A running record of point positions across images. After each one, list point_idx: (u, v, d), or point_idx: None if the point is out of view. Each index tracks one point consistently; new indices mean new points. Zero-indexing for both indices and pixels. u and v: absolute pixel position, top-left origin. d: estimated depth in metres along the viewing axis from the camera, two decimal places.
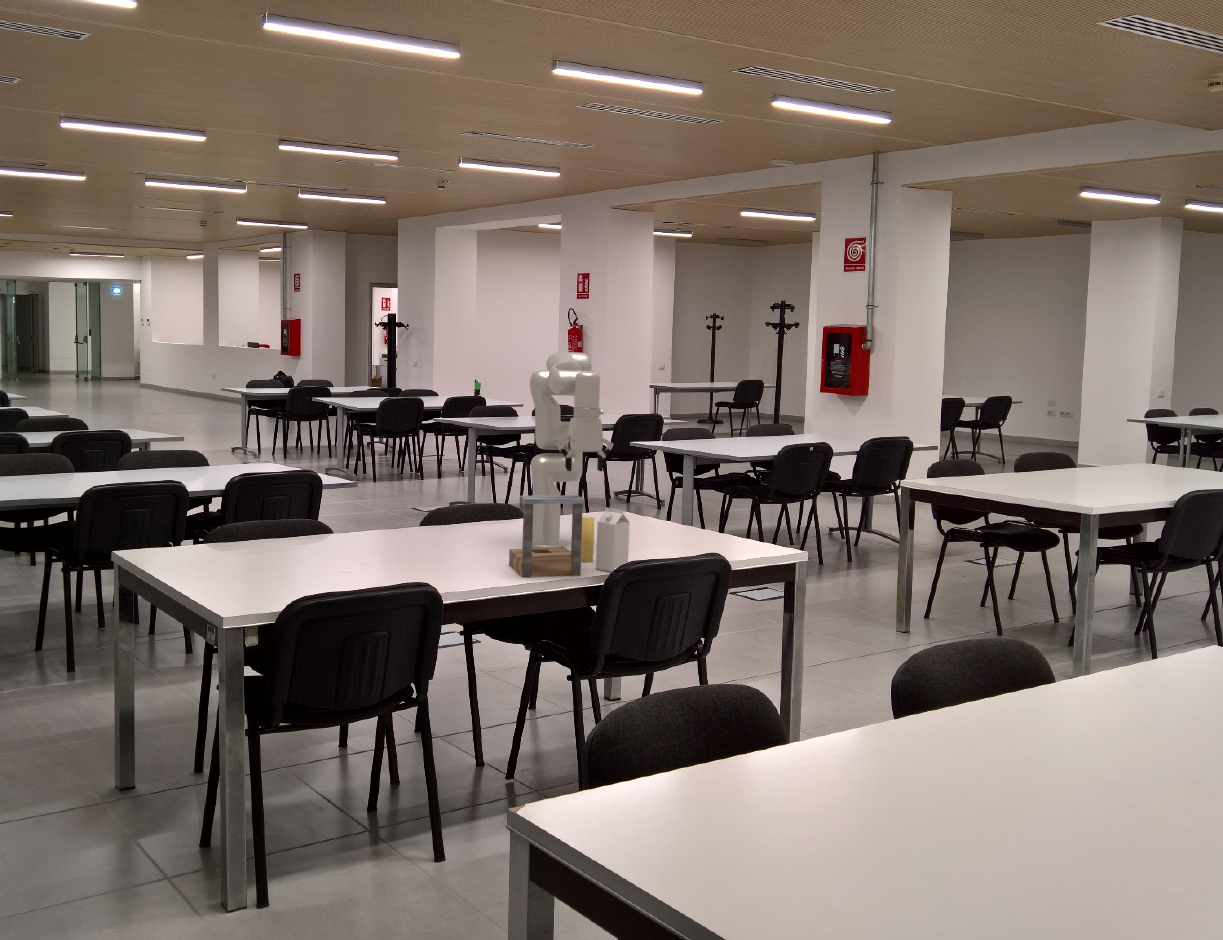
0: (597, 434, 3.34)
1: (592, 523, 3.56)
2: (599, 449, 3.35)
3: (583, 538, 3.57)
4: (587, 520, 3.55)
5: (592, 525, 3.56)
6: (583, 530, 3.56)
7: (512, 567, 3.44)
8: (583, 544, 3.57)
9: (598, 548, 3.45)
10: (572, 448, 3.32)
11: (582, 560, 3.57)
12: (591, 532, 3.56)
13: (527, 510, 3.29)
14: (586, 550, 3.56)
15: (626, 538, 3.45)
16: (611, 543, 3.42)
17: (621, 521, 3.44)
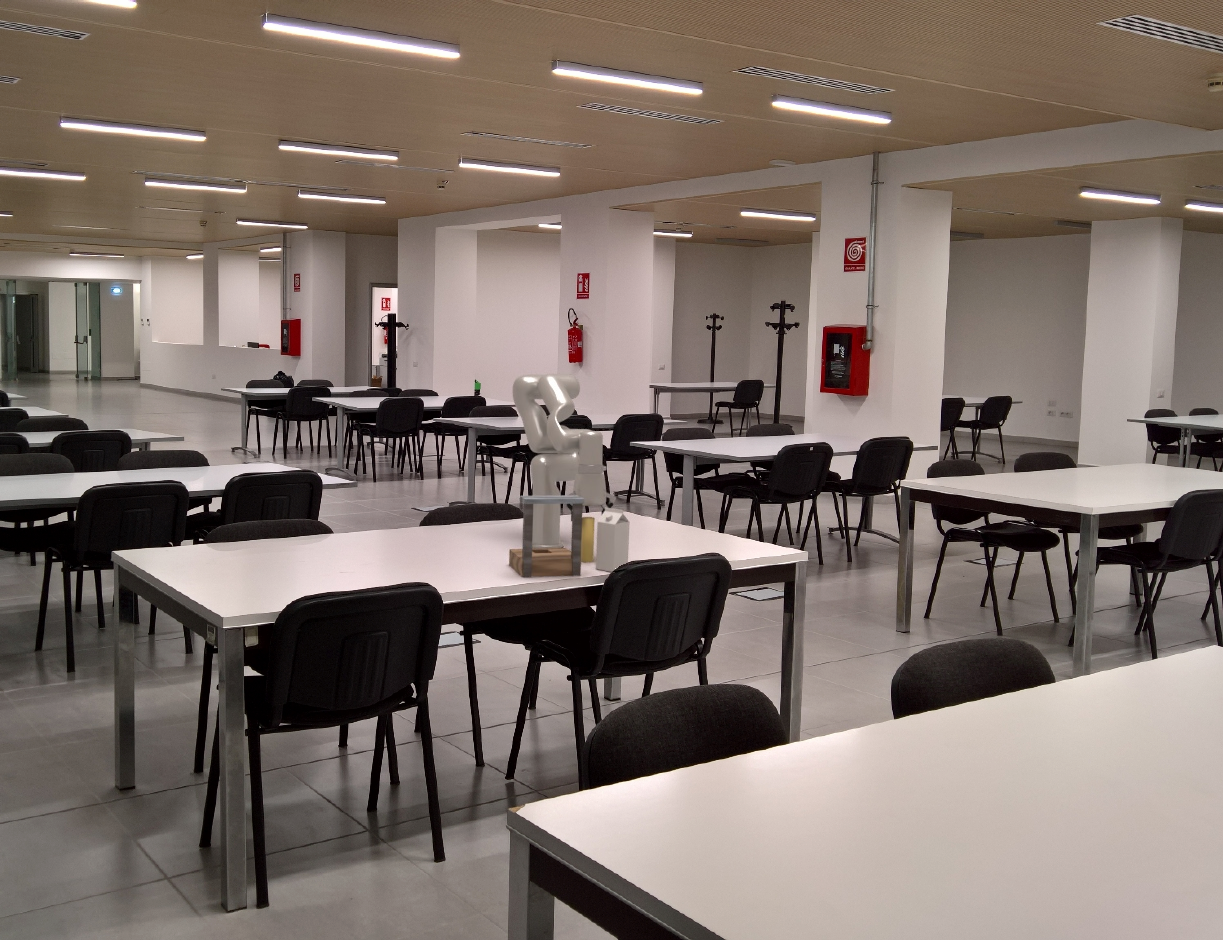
0: (601, 489, 3.55)
1: (592, 523, 3.56)
2: (603, 503, 3.56)
3: (583, 538, 3.57)
4: (587, 520, 3.55)
5: (592, 525, 3.56)
6: (583, 530, 3.56)
7: (512, 567, 3.44)
8: (583, 544, 3.57)
9: (598, 548, 3.45)
10: None
11: (582, 560, 3.57)
12: (591, 532, 3.56)
13: (527, 510, 3.29)
14: (586, 550, 3.56)
15: (626, 538, 3.45)
16: (611, 543, 3.42)
17: (621, 521, 3.44)
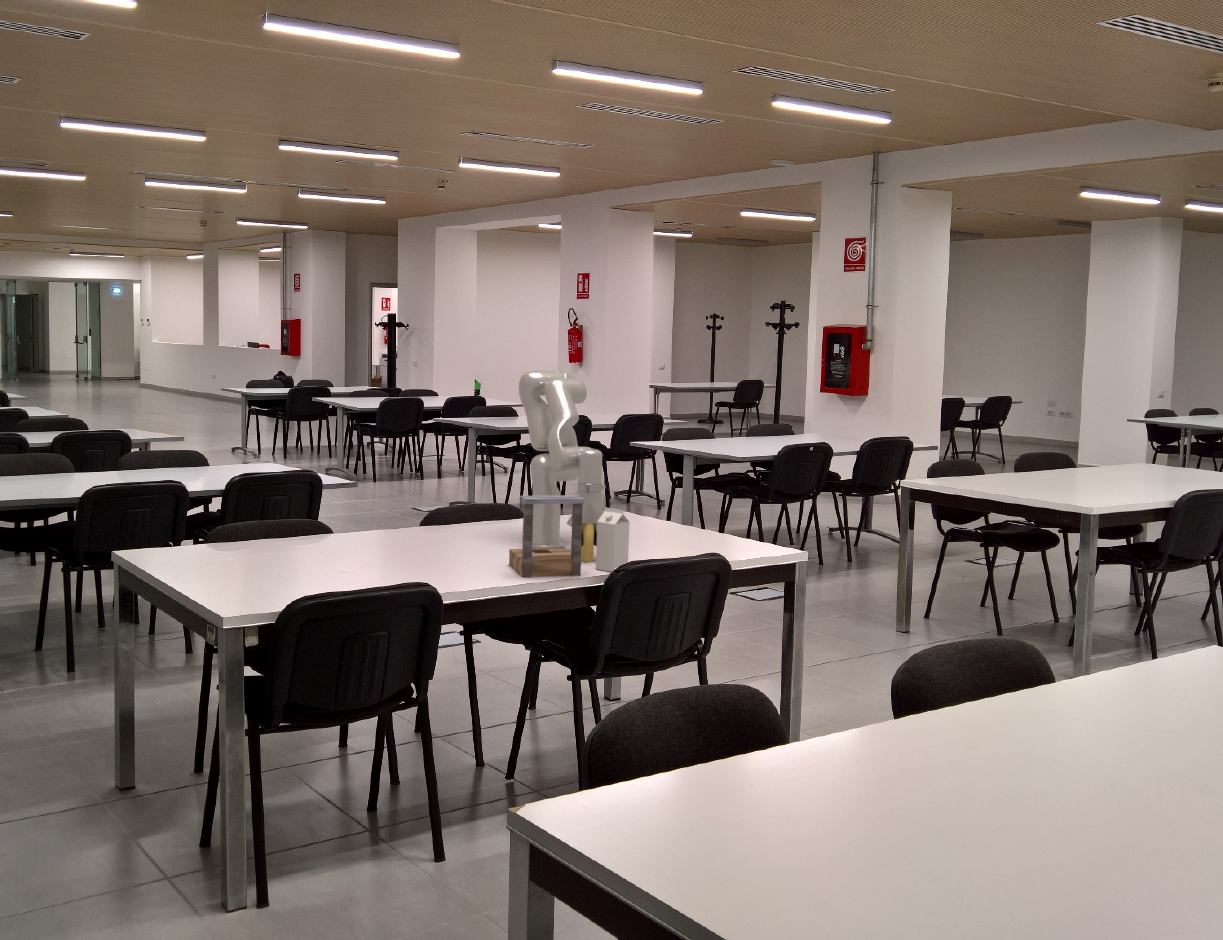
0: (599, 507, 3.56)
1: None
2: None
3: (583, 538, 3.57)
4: None
5: (592, 525, 3.56)
6: (583, 530, 3.56)
7: (512, 567, 3.44)
8: (583, 544, 3.57)
9: (598, 548, 3.45)
10: None
11: (582, 560, 3.57)
12: (591, 532, 3.56)
13: (527, 510, 3.29)
14: (586, 550, 3.56)
15: (626, 538, 3.45)
16: (611, 543, 3.42)
17: (621, 521, 3.44)
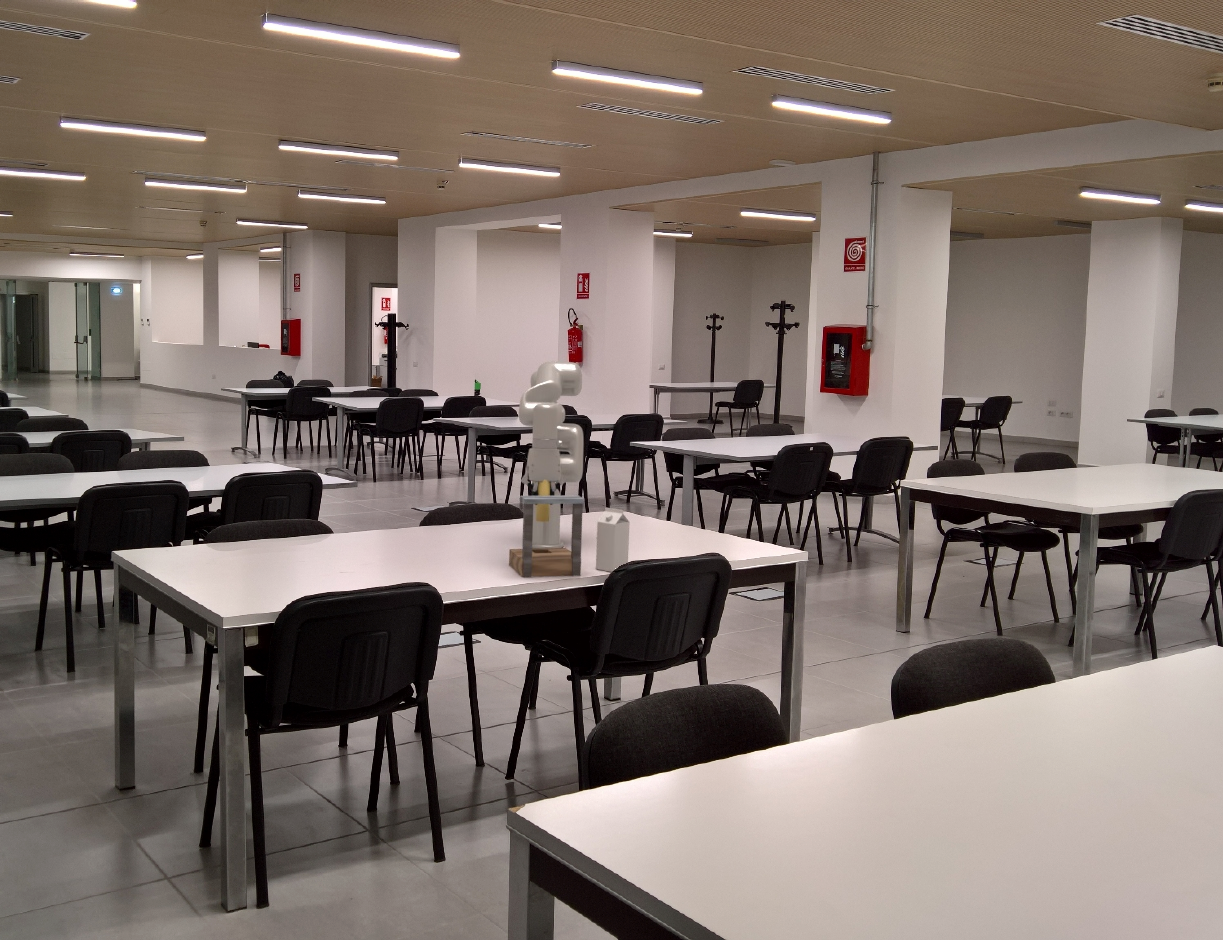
0: (555, 464, 3.41)
1: (548, 481, 3.42)
2: (557, 479, 3.42)
3: None
4: None
5: (548, 483, 3.42)
6: (538, 488, 3.42)
7: (512, 567, 3.44)
8: None
9: (598, 548, 3.45)
10: (530, 478, 3.40)
11: (537, 519, 3.43)
12: (547, 490, 3.42)
13: (527, 510, 3.29)
14: (542, 509, 3.42)
15: (626, 538, 3.45)
16: (611, 543, 3.42)
17: (621, 521, 3.44)
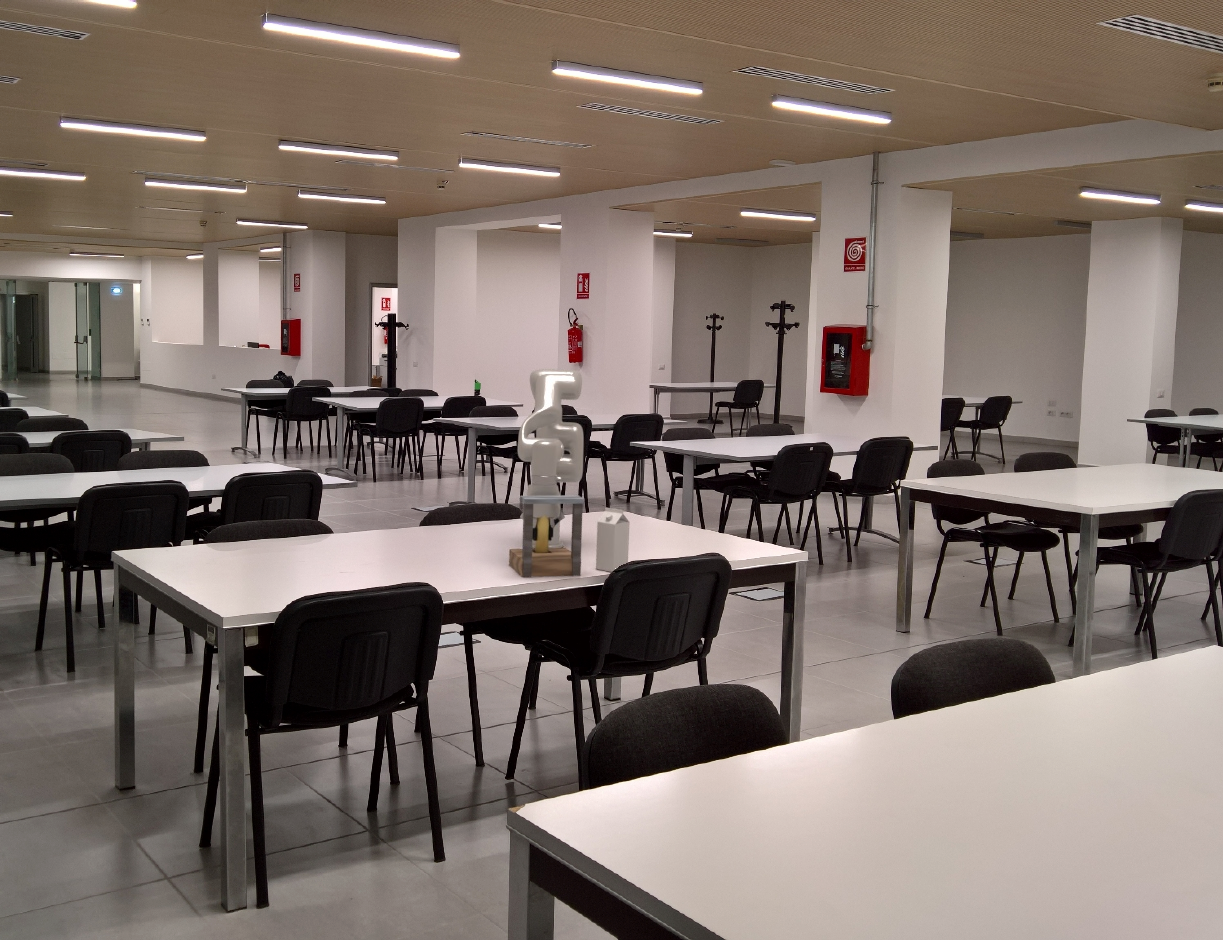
0: None
1: None
2: (556, 515, 3.44)
3: (537, 533, 3.43)
4: None
5: (547, 519, 3.43)
6: (537, 524, 3.43)
7: (512, 567, 3.44)
8: (537, 539, 3.43)
9: (598, 548, 3.45)
10: None
11: None
12: (546, 526, 3.43)
13: (527, 510, 3.29)
14: (541, 545, 3.43)
15: (626, 538, 3.45)
16: (611, 543, 3.42)
17: (621, 521, 3.44)
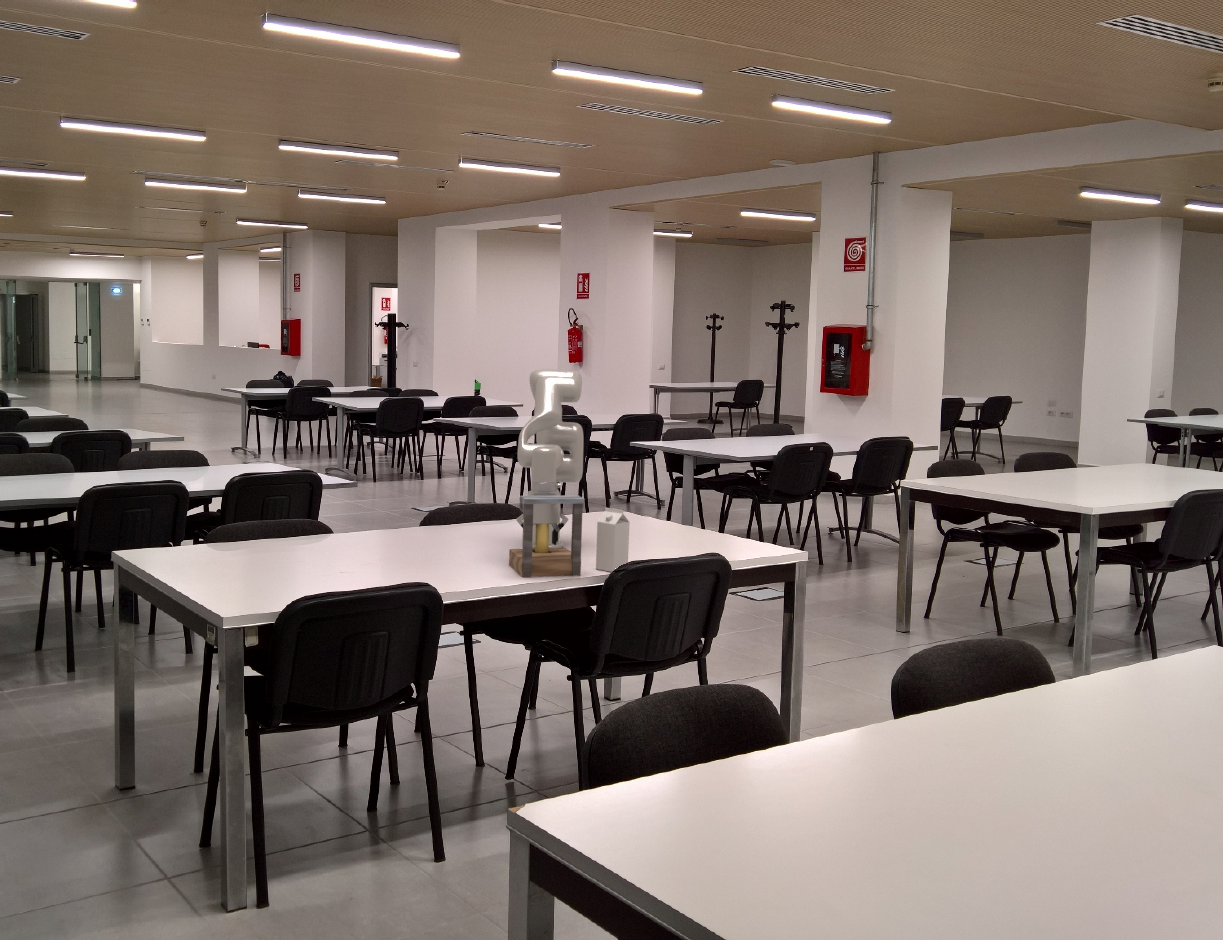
0: (554, 507, 3.43)
1: (546, 528, 3.43)
2: (556, 521, 3.44)
3: (537, 544, 3.44)
4: (541, 525, 3.43)
5: (546, 530, 3.44)
6: (537, 535, 3.44)
7: (512, 567, 3.44)
8: (537, 550, 3.44)
9: (598, 548, 3.45)
10: None
11: None
12: (545, 537, 3.44)
13: (527, 510, 3.29)
14: None
15: (626, 538, 3.45)
16: (611, 543, 3.42)
17: (621, 521, 3.44)
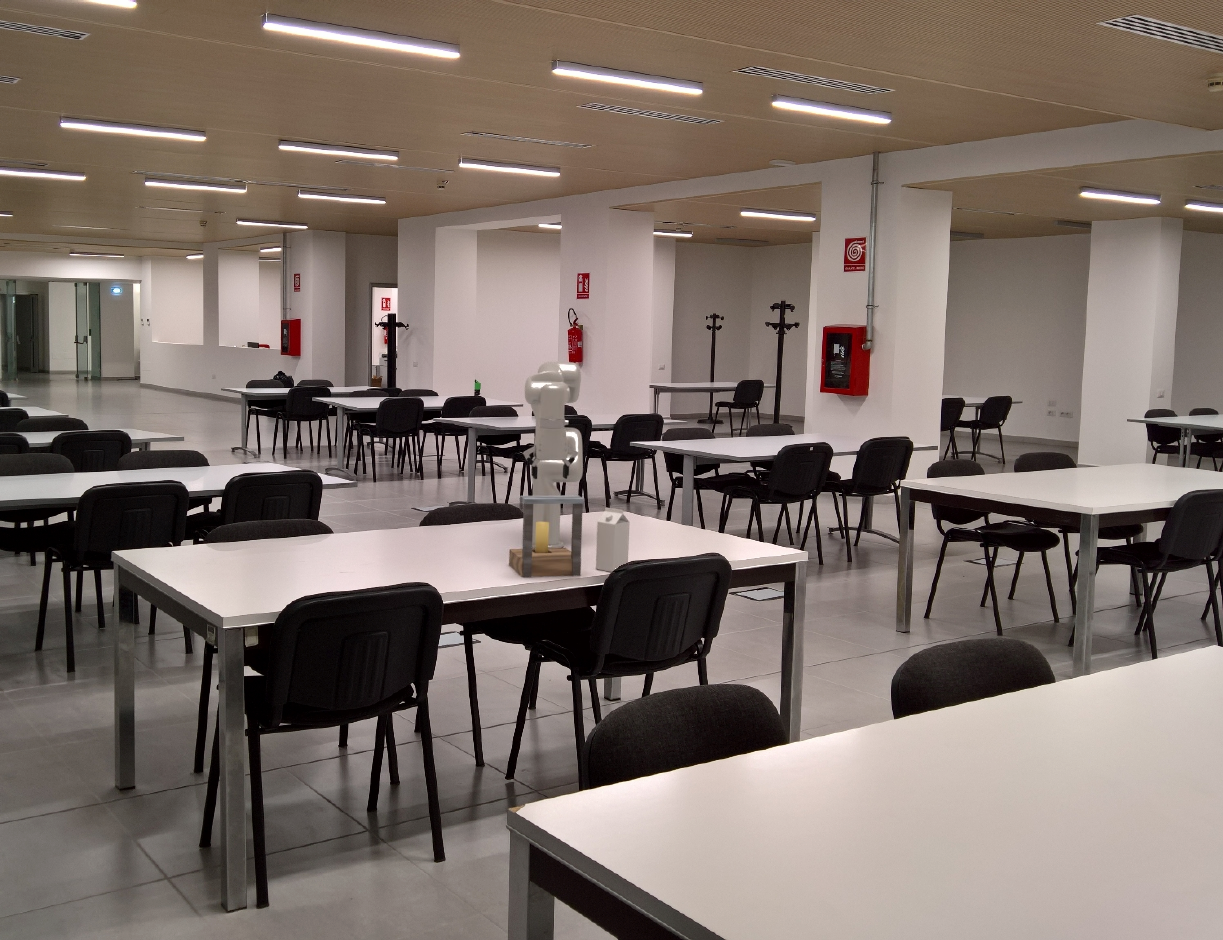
0: (562, 444, 3.49)
1: (546, 528, 3.43)
2: (564, 458, 3.50)
3: (537, 544, 3.44)
4: (541, 525, 3.43)
5: (546, 530, 3.44)
6: (537, 535, 3.44)
7: (512, 567, 3.44)
8: (537, 550, 3.44)
9: (598, 548, 3.45)
10: (538, 457, 3.48)
11: None
12: (545, 537, 3.44)
13: (527, 510, 3.29)
14: None
15: (626, 538, 3.45)
16: (611, 543, 3.42)
17: (621, 521, 3.44)
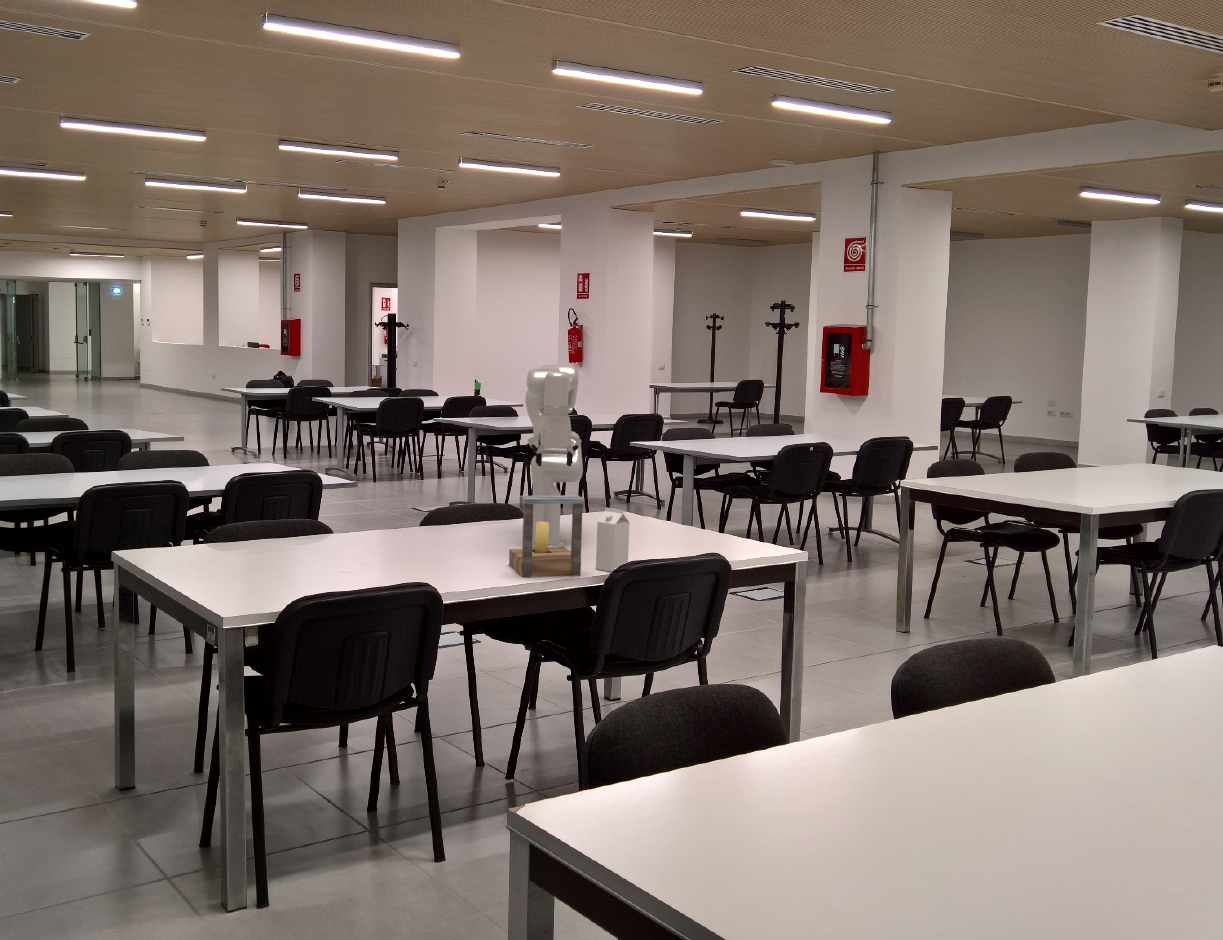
0: (566, 431, 3.52)
1: (546, 528, 3.43)
2: (568, 445, 3.54)
3: (537, 544, 3.44)
4: (541, 525, 3.43)
5: (546, 530, 3.44)
6: (537, 535, 3.44)
7: (512, 567, 3.44)
8: (537, 550, 3.44)
9: (598, 548, 3.45)
10: (542, 444, 3.51)
11: None
12: (545, 537, 3.44)
13: (527, 510, 3.29)
14: None
15: (626, 538, 3.45)
16: (611, 543, 3.42)
17: (621, 521, 3.44)
